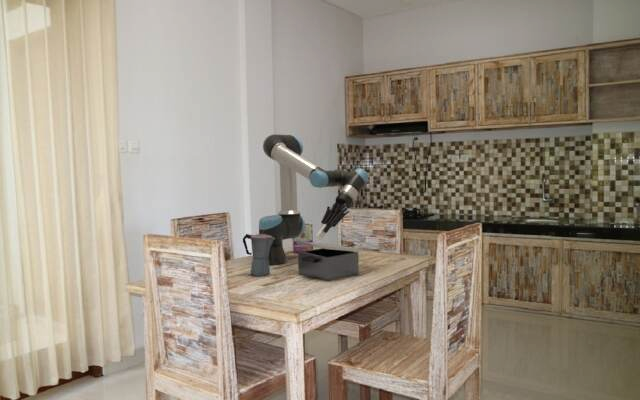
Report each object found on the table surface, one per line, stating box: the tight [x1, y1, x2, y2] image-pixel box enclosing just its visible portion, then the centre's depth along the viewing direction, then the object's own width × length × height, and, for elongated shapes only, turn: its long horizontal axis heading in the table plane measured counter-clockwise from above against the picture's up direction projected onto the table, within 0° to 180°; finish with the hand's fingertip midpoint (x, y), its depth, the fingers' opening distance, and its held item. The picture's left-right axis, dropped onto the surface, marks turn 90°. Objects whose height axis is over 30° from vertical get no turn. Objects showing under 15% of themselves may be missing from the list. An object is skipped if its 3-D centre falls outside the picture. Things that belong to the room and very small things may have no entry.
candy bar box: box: [291, 222, 314, 254], centre depth 278 cm, size 11×5×16 cm, turn 102°
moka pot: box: [242, 230, 275, 277], centre depth 220 cm, size 10×15×20 cm, turn 79°
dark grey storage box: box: [297, 248, 360, 282], centre depth 217 cm, size 20×20×10 cm
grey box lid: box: [297, 241, 361, 253], centre depth 217 cm, size 21×19×1 cm
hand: (318, 237), depth 214 cm, fingers closed
